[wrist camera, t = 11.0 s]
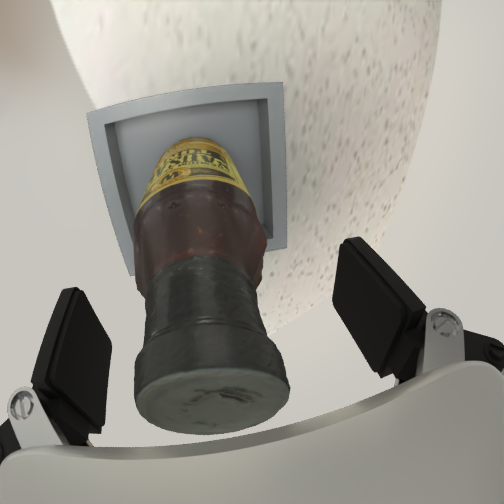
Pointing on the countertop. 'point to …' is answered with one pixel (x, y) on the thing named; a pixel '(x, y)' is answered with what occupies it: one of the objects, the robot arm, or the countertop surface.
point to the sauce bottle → (202, 298)
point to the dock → (194, 126)
